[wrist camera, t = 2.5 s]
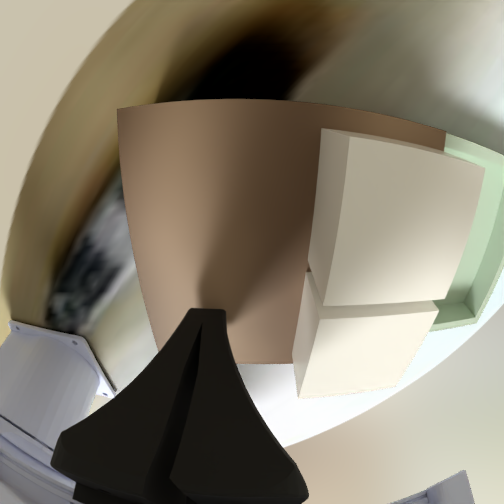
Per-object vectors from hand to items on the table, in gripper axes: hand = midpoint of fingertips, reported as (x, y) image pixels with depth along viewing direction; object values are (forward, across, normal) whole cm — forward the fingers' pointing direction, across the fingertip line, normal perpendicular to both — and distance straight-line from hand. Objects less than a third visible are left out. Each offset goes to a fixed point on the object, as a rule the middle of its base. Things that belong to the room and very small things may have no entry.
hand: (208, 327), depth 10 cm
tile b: (+1, -6, -5) cm, 8 cm away
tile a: (+1, -6, 0) cm, 6 cm away
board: (+4, -3, -2) cm, 6 cm away
